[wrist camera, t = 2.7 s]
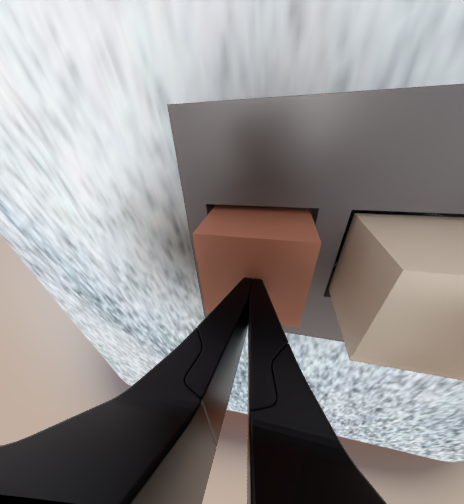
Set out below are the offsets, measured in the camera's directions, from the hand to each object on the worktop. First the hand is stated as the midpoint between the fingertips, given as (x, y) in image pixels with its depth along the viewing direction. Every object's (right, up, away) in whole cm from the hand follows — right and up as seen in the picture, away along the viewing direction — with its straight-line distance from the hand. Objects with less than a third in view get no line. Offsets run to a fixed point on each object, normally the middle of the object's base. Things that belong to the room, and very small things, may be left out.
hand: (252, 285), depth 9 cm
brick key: (+1, +2, +4) cm, 4 cm away
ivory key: (+7, +1, +1) cm, 8 cm away
